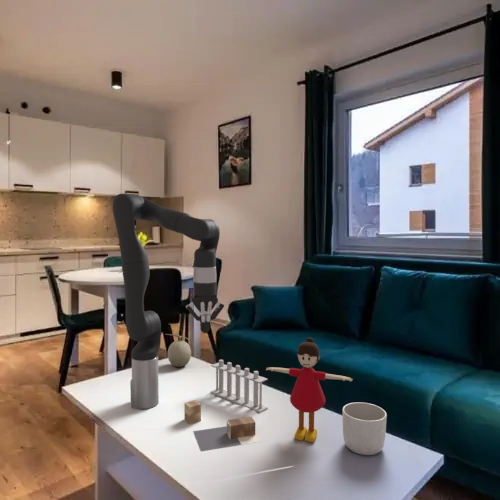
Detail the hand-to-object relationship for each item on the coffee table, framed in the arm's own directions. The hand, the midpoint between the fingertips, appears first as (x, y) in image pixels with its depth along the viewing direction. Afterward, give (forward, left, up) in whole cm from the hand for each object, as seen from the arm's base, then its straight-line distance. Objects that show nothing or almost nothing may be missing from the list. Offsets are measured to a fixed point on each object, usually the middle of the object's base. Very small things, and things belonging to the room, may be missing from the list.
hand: (205, 332), depth 139 cm
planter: (+47, -21, -29) cm, 59 cm away
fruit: (-14, +52, -29) cm, 61 cm away
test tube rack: (+11, +13, -29) cm, 34 cm away
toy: (+32, -13, -29) cm, 45 cm away
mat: (+7, -13, -29) cm, 33 cm away
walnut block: (+8, -13, -27) cm, 30 cm away
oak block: (-4, -2, -29) cm, 29 cm away
